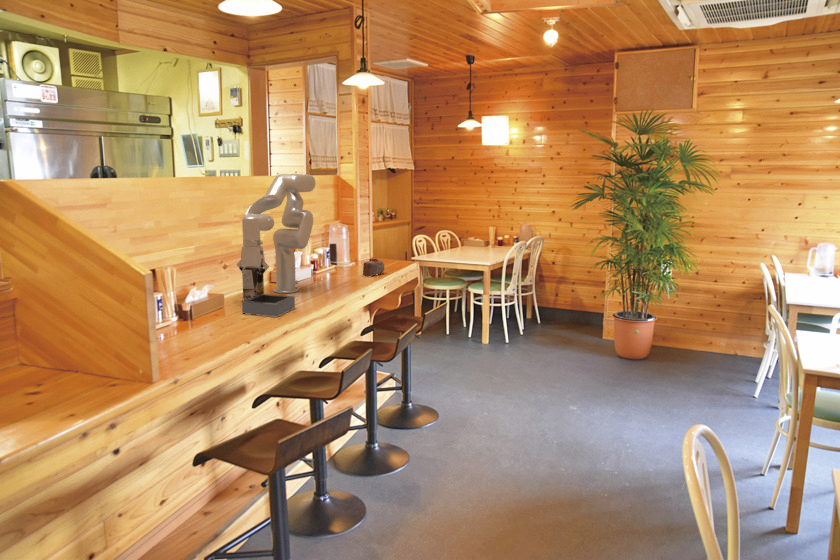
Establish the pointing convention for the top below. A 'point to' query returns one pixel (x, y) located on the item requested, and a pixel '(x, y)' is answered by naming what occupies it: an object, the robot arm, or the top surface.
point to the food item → (373, 267)
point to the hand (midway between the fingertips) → (253, 281)
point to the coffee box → (251, 283)
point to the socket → (268, 305)
